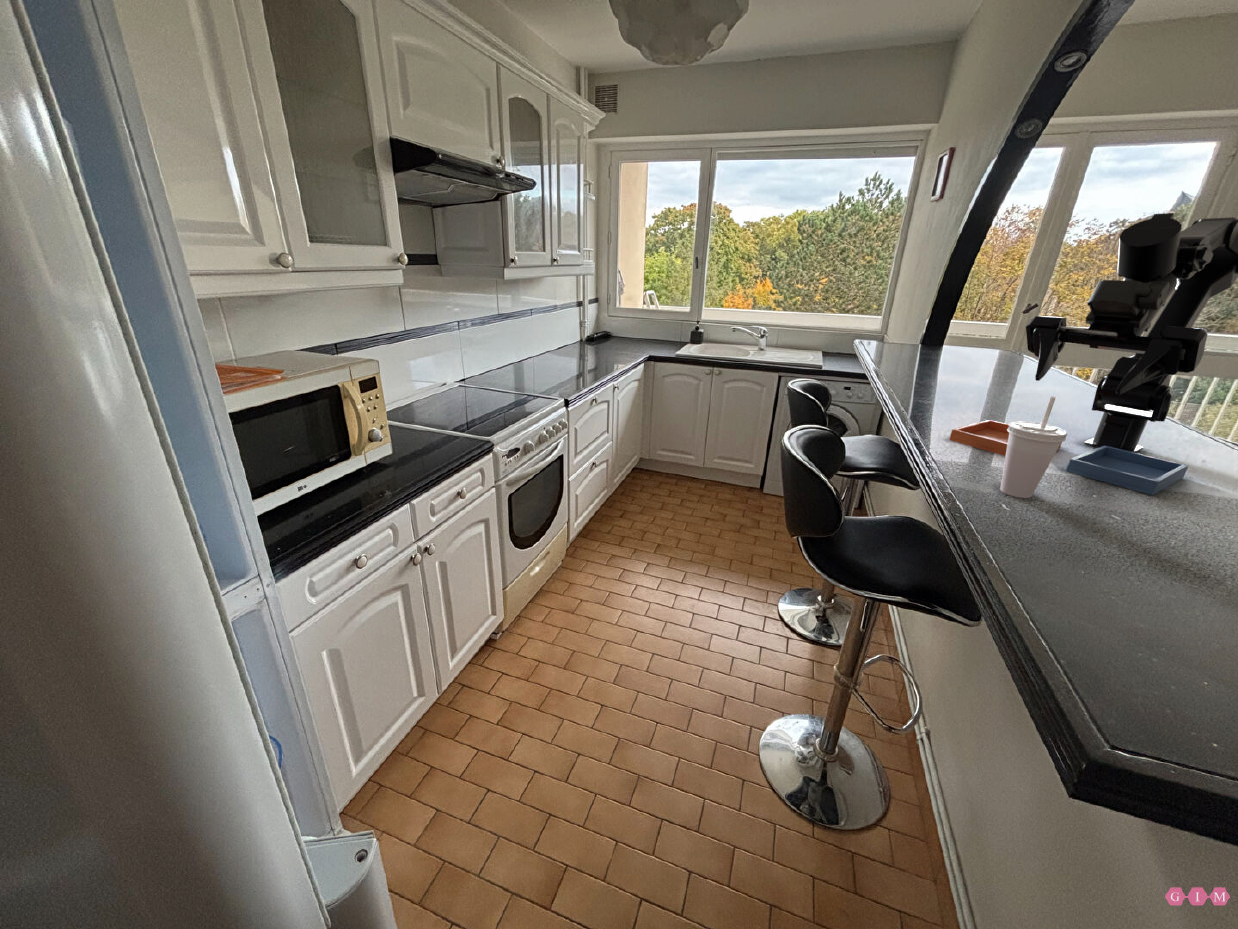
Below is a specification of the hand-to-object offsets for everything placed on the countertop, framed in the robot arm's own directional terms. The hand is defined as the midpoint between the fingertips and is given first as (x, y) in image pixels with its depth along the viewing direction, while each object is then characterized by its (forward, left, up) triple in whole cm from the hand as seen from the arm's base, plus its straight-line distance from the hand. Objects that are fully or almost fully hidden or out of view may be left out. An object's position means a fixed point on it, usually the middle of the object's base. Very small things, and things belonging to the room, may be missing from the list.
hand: (1075, 384), depth 71 cm
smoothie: (+8, 0, -15) cm, 17 cm away
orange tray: (-14, -11, -15) cm, 23 cm away
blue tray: (-15, +5, -15) cm, 21 cm away
